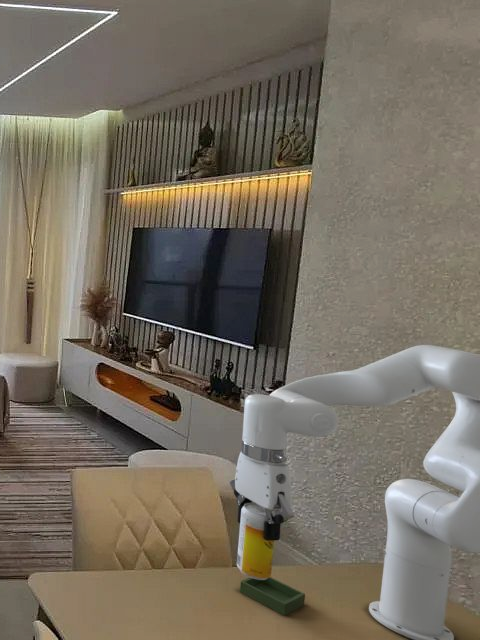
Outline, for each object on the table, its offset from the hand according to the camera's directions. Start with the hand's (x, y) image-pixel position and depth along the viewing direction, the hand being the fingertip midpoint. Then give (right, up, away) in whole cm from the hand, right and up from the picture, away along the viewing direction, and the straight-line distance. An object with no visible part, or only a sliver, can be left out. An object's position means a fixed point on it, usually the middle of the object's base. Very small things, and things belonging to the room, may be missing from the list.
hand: (257, 530), depth 118 cm
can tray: (+7, -18, +5) cm, 20 cm away
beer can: (0, -10, +1) cm, 10 cm away
